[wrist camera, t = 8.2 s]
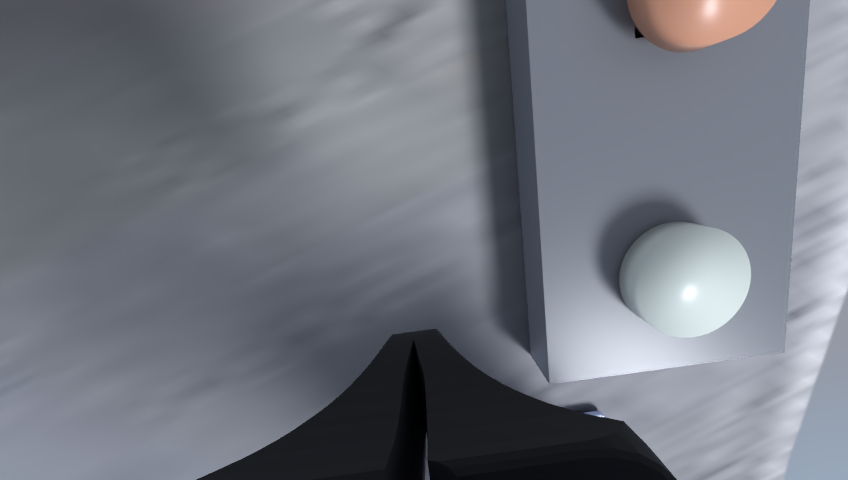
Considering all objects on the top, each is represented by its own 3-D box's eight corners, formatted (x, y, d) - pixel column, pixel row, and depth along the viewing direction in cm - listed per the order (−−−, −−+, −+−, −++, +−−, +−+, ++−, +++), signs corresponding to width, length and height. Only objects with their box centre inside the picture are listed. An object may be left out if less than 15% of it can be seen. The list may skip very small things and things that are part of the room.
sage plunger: (681, 297, 22) (748, 329, 17) (592, 308, 21) (638, 344, 17) (682, 207, 21) (753, 219, 16) (589, 219, 20) (637, 234, 16)
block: (734, 327, 23) (784, 352, 20) (530, 355, 22) (549, 384, 19) (754, -111, 18) (822, -164, 15) (499, -83, 18) (518, -131, 15)
